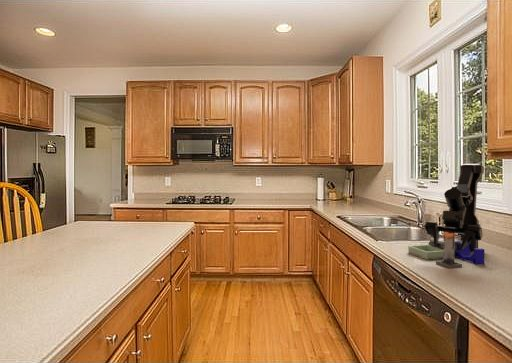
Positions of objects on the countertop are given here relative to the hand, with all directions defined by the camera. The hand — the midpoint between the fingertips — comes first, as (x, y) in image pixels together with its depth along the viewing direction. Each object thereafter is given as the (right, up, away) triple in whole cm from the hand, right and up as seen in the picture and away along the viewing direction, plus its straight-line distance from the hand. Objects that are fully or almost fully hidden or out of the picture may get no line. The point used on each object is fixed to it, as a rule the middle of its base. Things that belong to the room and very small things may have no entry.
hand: (447, 248), depth 126 cm
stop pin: (+1, -7, +1) cm, 7 cm away
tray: (+1, -6, +16) cm, 18 cm away
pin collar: (+1, -7, +1) cm, 7 cm away
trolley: (+10, -6, +19) cm, 23 cm away
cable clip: (+13, -7, +8) cm, 17 cm away
